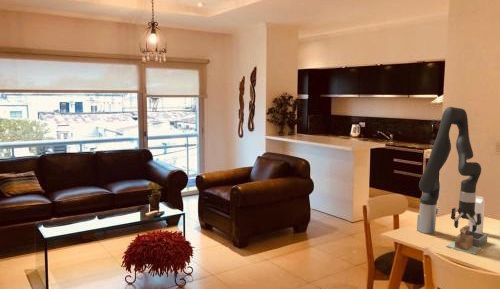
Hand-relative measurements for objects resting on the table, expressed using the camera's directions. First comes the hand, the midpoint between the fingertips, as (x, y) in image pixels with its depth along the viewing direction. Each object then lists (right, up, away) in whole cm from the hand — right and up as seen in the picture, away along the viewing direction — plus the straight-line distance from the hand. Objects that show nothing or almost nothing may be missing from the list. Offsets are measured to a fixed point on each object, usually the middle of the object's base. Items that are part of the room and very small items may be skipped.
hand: (465, 229), depth 217 cm
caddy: (0, -10, +1) cm, 10 cm away
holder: (+10, -9, +10) cm, 17 cm away
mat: (0, -10, +1) cm, 10 cm away
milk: (+20, -7, +26) cm, 33 cm away
